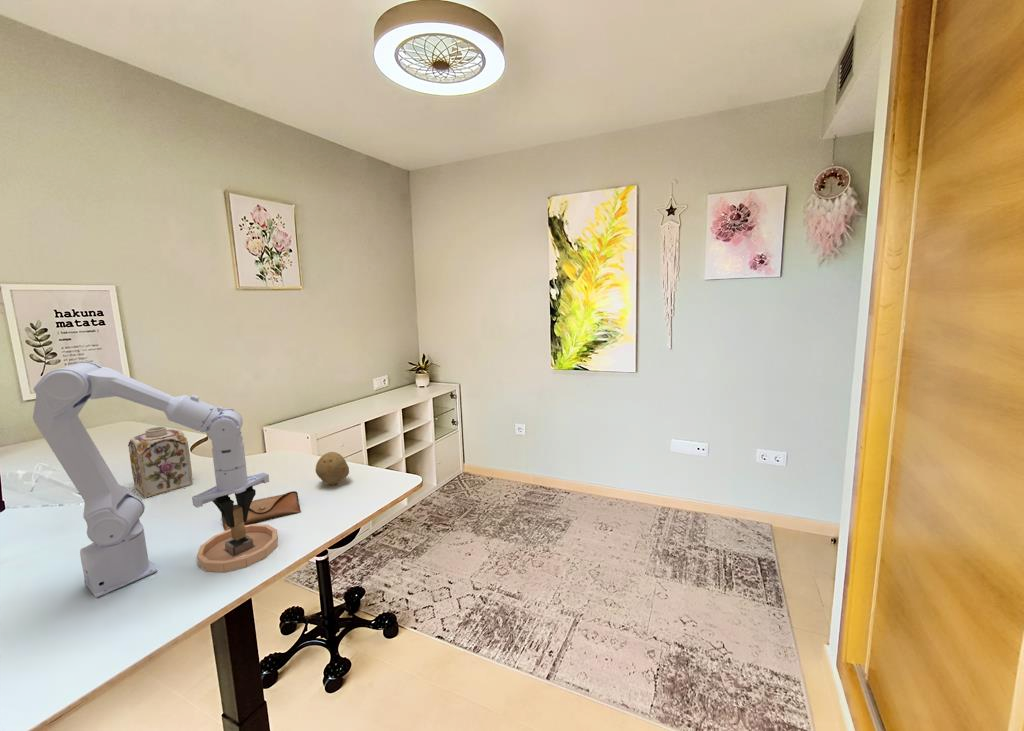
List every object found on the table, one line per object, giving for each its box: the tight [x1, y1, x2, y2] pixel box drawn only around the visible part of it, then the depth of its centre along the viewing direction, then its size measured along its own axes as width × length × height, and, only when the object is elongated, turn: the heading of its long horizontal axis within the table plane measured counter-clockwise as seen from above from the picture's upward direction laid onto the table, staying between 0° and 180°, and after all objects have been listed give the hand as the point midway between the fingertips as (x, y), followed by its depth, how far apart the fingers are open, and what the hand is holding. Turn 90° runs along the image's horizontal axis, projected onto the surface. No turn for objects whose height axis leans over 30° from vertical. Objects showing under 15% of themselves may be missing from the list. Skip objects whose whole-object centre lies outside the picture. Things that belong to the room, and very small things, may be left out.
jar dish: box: [196, 523, 279, 573], centre depth 95 cm, size 15×15×2 cm
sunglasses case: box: [220, 490, 302, 531], centre depth 111 cm, size 18×7×7 cm, turn 125°
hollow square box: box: [223, 535, 255, 557], centre depth 95 cm, size 5×5×2 cm
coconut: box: [315, 451, 350, 486], centre depth 128 cm, size 9×9×10 cm
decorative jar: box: [127, 426, 193, 499], centre depth 125 cm, size 12×12×18 cm
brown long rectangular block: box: [231, 504, 246, 541], centre depth 94 cm, size 2×2×7 cm
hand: (236, 523), depth 94 cm, fingers closed on brown long rectangular block, 2 cm apart
